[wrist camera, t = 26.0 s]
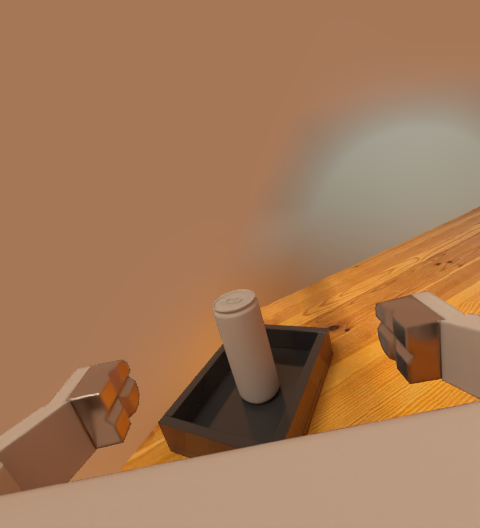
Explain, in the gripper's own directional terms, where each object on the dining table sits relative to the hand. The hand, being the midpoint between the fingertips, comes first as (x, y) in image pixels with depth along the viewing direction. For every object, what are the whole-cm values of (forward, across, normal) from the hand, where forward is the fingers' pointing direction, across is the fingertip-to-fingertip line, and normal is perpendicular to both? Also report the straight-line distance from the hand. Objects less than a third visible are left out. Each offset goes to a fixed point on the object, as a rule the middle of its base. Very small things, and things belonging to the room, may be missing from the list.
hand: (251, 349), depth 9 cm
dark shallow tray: (+20, +3, +20) cm, 28 cm away
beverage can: (+20, +2, +19) cm, 28 cm away
